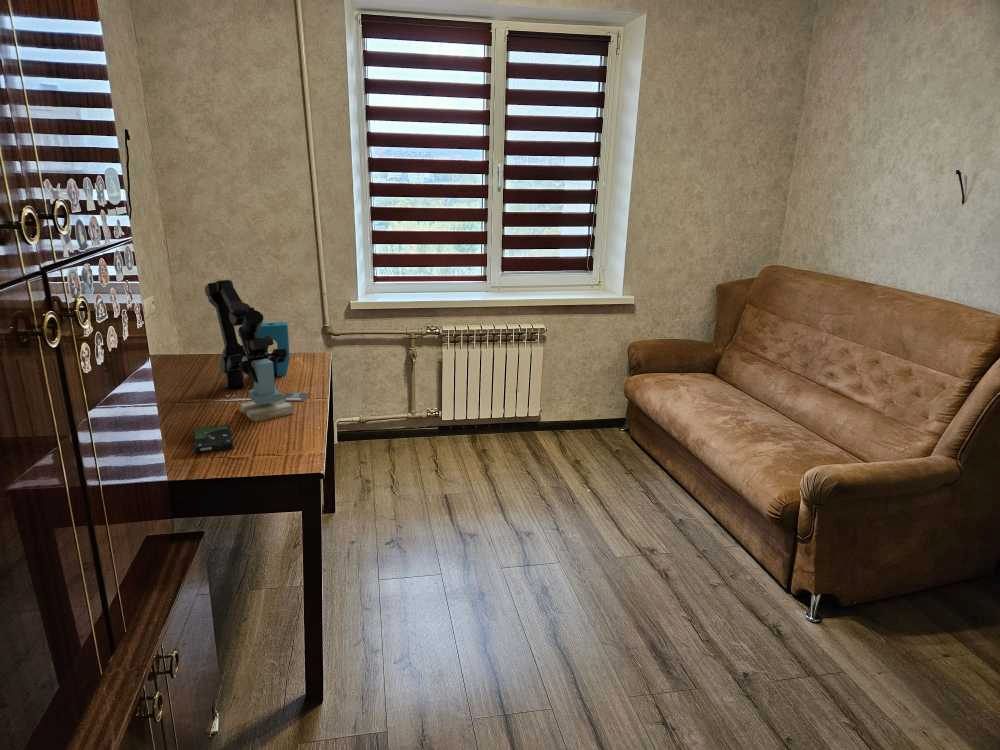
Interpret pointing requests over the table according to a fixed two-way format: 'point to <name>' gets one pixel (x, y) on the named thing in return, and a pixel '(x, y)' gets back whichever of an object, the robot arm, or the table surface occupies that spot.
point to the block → (281, 337)
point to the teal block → (264, 383)
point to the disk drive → (212, 439)
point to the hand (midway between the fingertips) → (265, 381)
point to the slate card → (295, 397)
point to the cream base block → (265, 410)
